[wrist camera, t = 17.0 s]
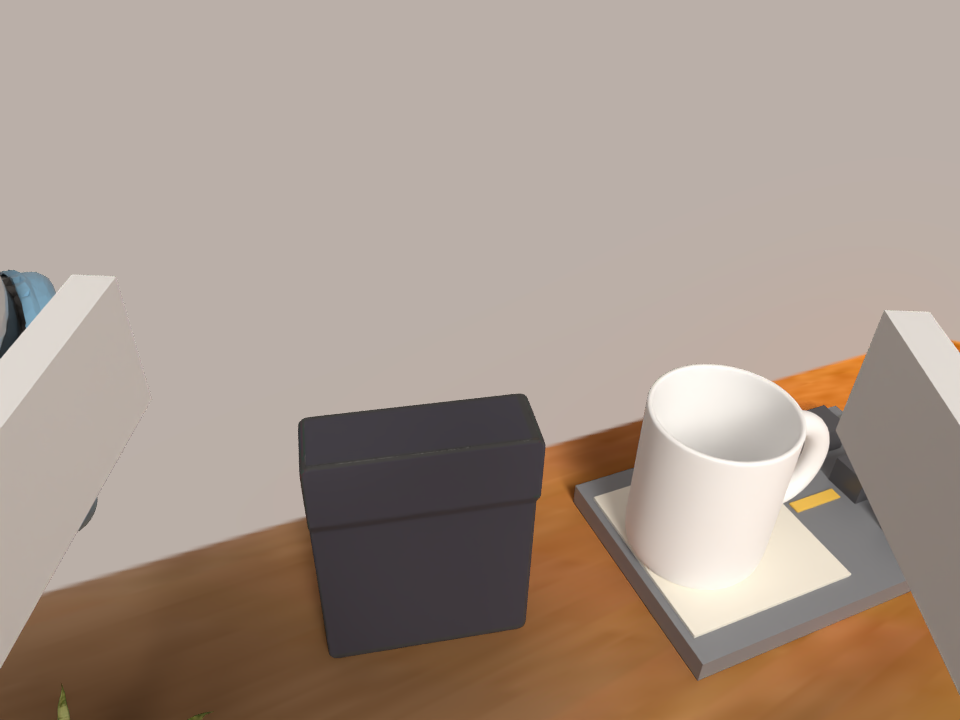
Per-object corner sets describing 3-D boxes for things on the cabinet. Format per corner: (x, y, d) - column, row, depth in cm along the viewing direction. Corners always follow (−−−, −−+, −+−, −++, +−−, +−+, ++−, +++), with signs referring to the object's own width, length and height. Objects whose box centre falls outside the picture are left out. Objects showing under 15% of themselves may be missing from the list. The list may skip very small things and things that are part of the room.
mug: (765, 468, 53) (805, 343, 47) (843, 563, 47) (902, 433, 41) (601, 504, 51) (621, 376, 44) (661, 610, 44) (695, 478, 38)
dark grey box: (510, 576, 48) (524, 381, 39) (528, 637, 45) (547, 439, 36) (326, 604, 46) (296, 406, 37) (330, 670, 43) (298, 470, 34)
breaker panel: (697, 680, 43) (710, 642, 41) (573, 501, 53) (578, 463, 51) (989, 557, 50) (1012, 519, 48) (829, 421, 60) (843, 384, 58)
